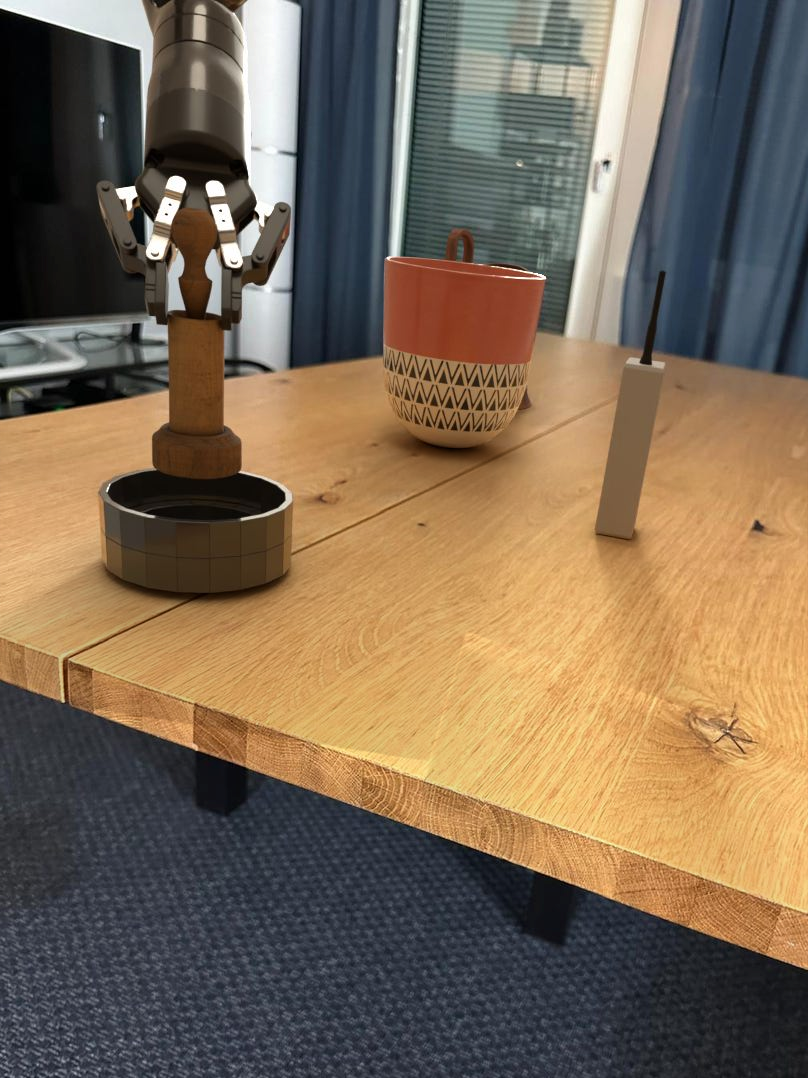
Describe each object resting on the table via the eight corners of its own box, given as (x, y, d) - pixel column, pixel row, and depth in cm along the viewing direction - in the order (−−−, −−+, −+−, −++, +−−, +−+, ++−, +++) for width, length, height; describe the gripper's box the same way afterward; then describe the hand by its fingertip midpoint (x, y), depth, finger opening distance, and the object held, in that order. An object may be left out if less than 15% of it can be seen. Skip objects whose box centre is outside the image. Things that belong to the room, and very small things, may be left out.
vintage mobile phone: (634, 526, 97) (684, 271, 86) (630, 540, 92) (683, 273, 82) (599, 520, 97) (644, 266, 87) (593, 533, 93) (641, 267, 82)
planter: (475, 473, 108) (497, 278, 99) (342, 438, 116) (351, 255, 107) (547, 448, 124) (572, 278, 115) (426, 419, 132) (440, 258, 123)
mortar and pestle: (233, 483, 68) (234, 215, 60) (142, 475, 67) (131, 202, 59) (247, 459, 74) (249, 213, 66) (164, 451, 73) (156, 201, 65)
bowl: (68, 583, 68) (62, 504, 65) (151, 525, 80) (148, 457, 78) (258, 612, 67) (259, 533, 64) (310, 548, 80) (313, 481, 77)
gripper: (89, 69, 64) (74, 273, 59) (297, 99, 68) (301, 294, 62) (104, 156, 71) (92, 345, 66) (292, 179, 75) (295, 361, 69)
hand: (194, 319), depth 64 cm, fingers closed on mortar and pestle, 3 cm apart
